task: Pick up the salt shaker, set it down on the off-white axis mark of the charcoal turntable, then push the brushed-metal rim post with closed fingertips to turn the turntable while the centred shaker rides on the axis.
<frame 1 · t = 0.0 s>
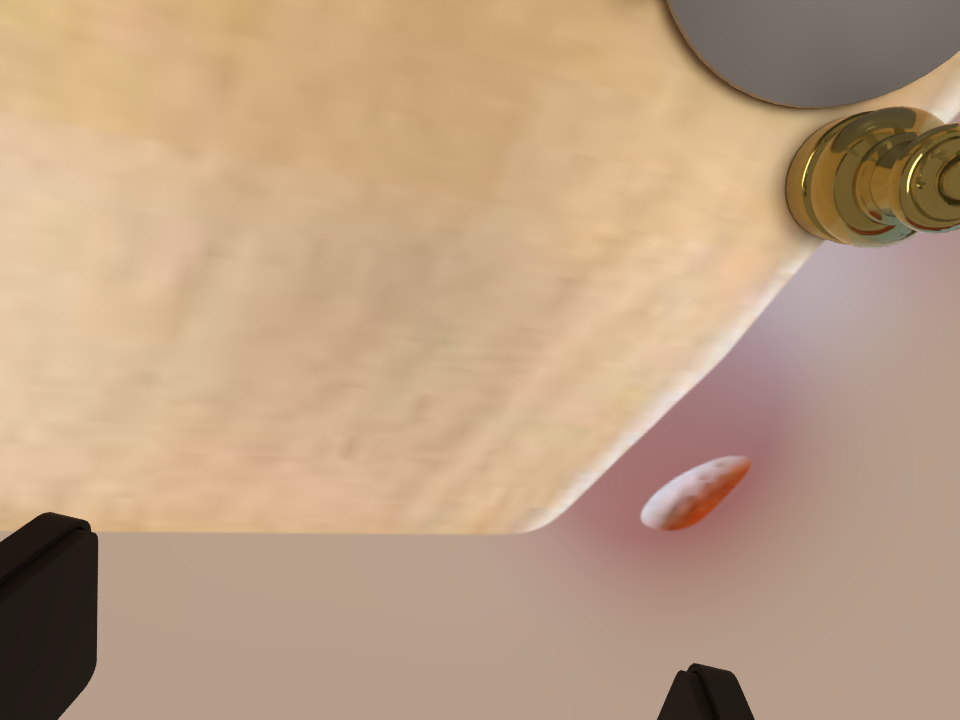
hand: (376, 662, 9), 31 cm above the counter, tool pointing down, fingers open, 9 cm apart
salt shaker: (843, 180, 35), on the counter
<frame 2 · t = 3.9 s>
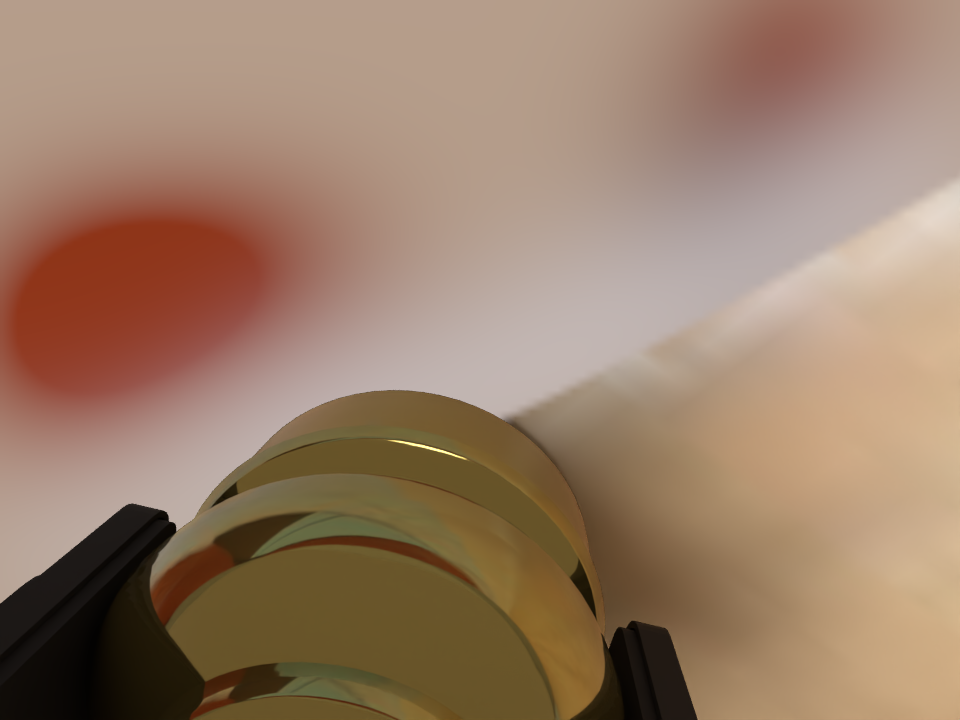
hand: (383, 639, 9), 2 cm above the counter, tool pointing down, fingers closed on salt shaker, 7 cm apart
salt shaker: (411, 544, 12), on the counter, touching gripper
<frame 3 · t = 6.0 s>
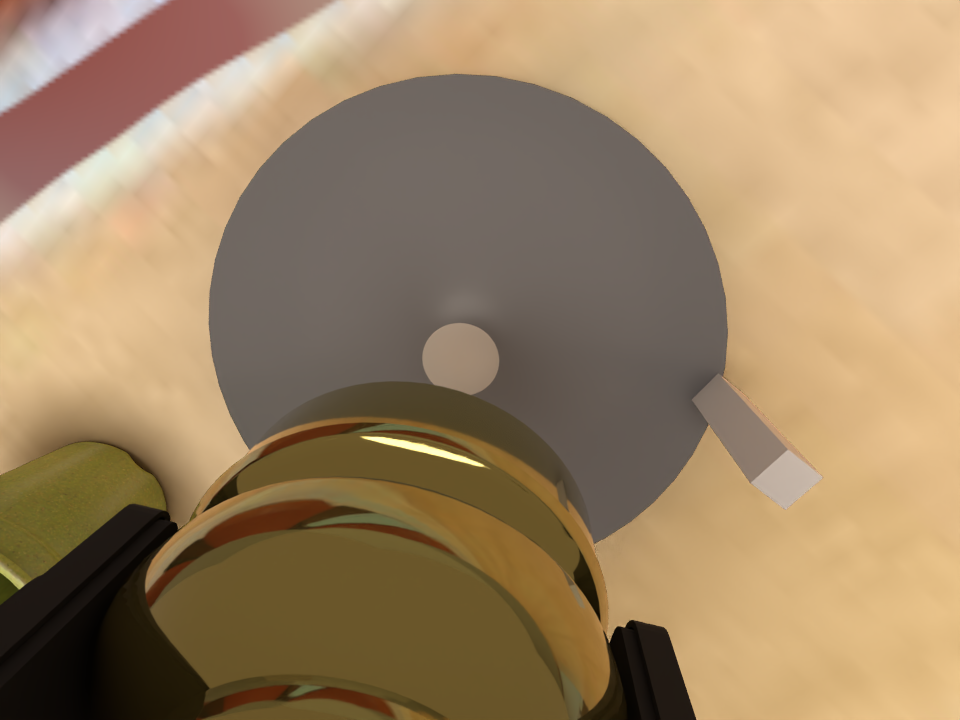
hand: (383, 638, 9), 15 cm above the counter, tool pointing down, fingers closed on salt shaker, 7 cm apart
turntable: (452, 385, 20), point 4 cm above the counter, hinge at 0.0°
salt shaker: (413, 532, 12), point 13 cm above the counter, touching gripper
plant pot: (111, 494, 28), on the counter
when the fingers open (5 cm above the counter, at t = 8.6 s): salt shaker stays where it is, resting on turntable.
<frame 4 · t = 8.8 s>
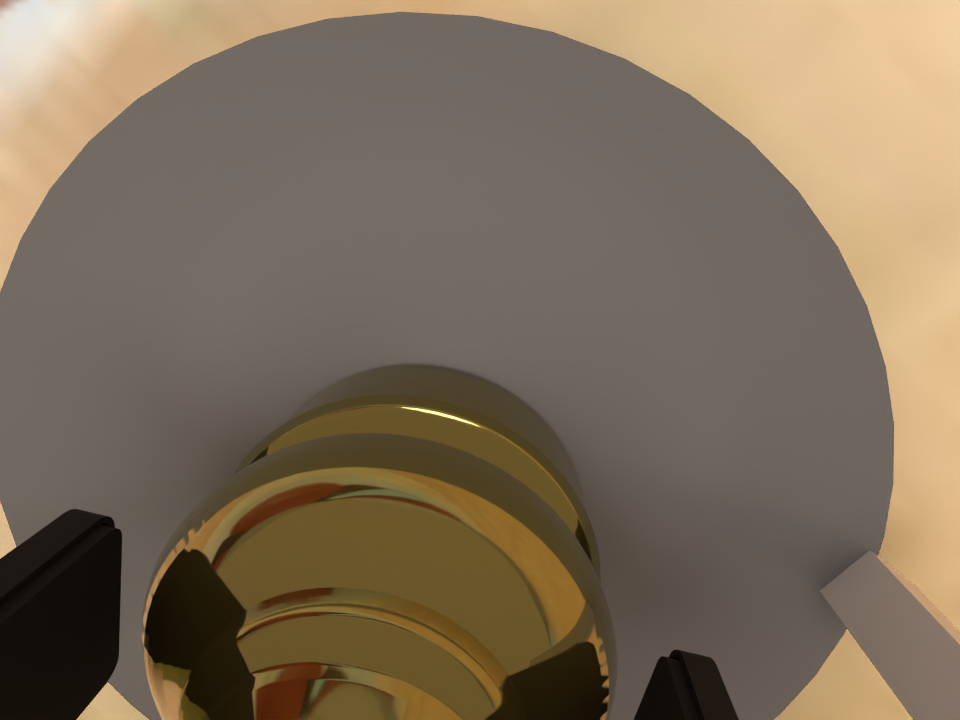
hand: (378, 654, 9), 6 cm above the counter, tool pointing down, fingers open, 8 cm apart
turntable: (394, 599, 10), point 4 cm above the counter, hinge at 0.0°, touching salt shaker
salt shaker: (423, 511, 13), point 2 cm above the counter, touching turntable
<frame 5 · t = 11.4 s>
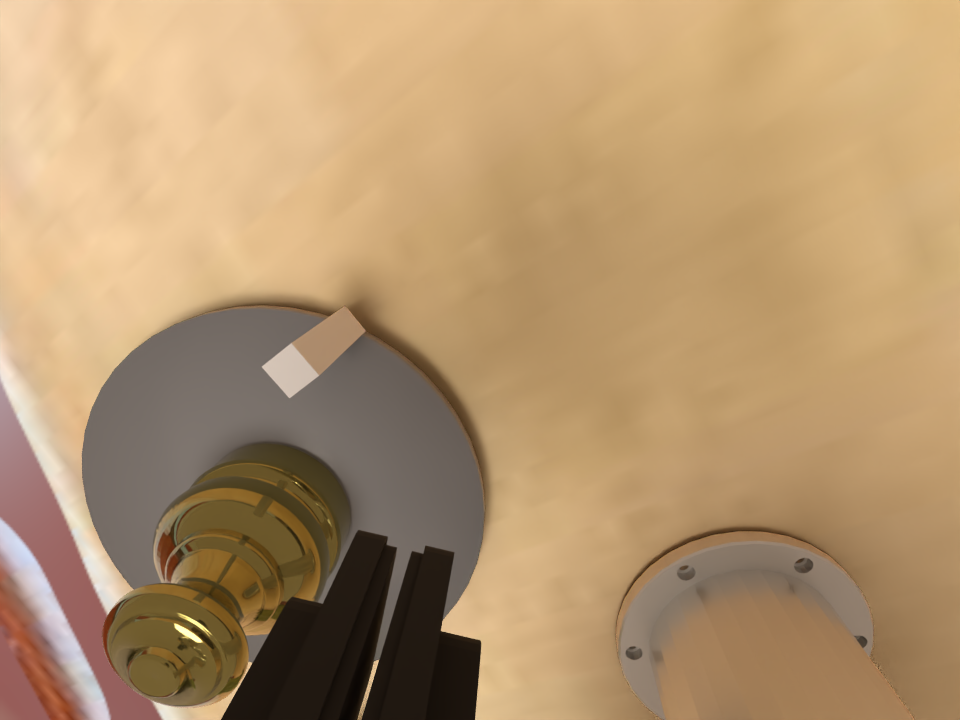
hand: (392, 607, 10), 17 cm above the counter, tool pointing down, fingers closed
turntable: (256, 541, 25), point 4 cm above the counter, hinge at 0.0°, touching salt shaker
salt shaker: (281, 505, 28), point 2 cm above the counter, touching turntable
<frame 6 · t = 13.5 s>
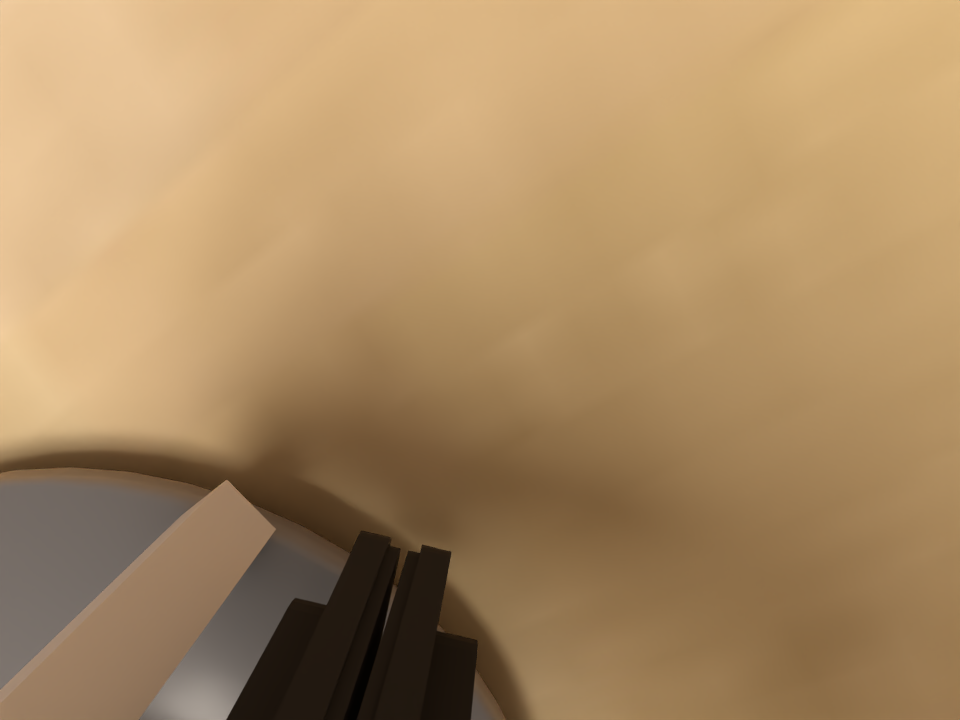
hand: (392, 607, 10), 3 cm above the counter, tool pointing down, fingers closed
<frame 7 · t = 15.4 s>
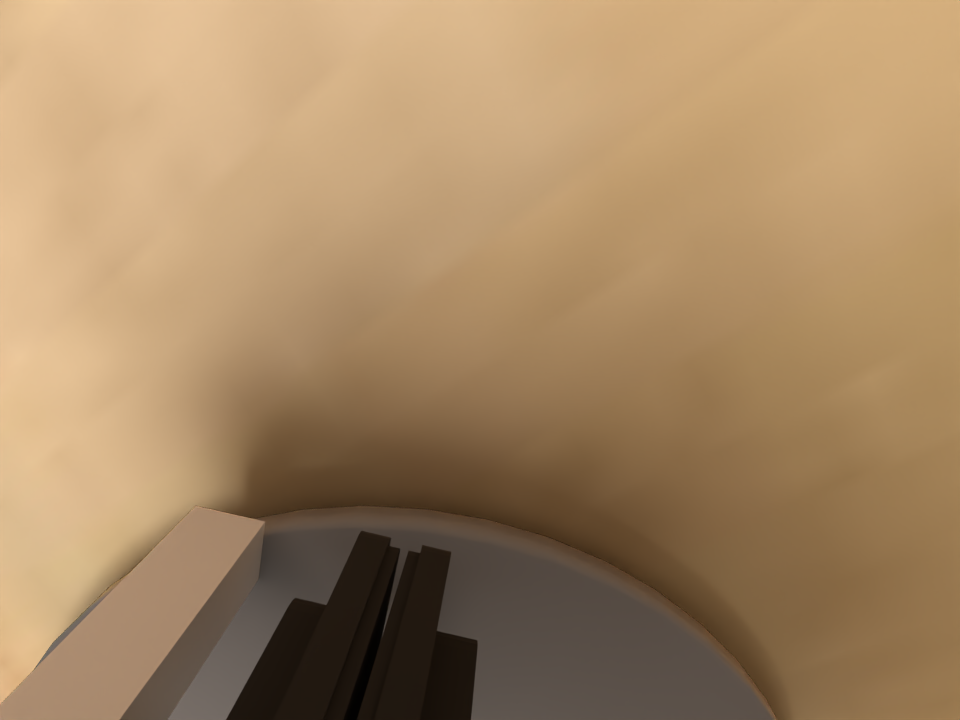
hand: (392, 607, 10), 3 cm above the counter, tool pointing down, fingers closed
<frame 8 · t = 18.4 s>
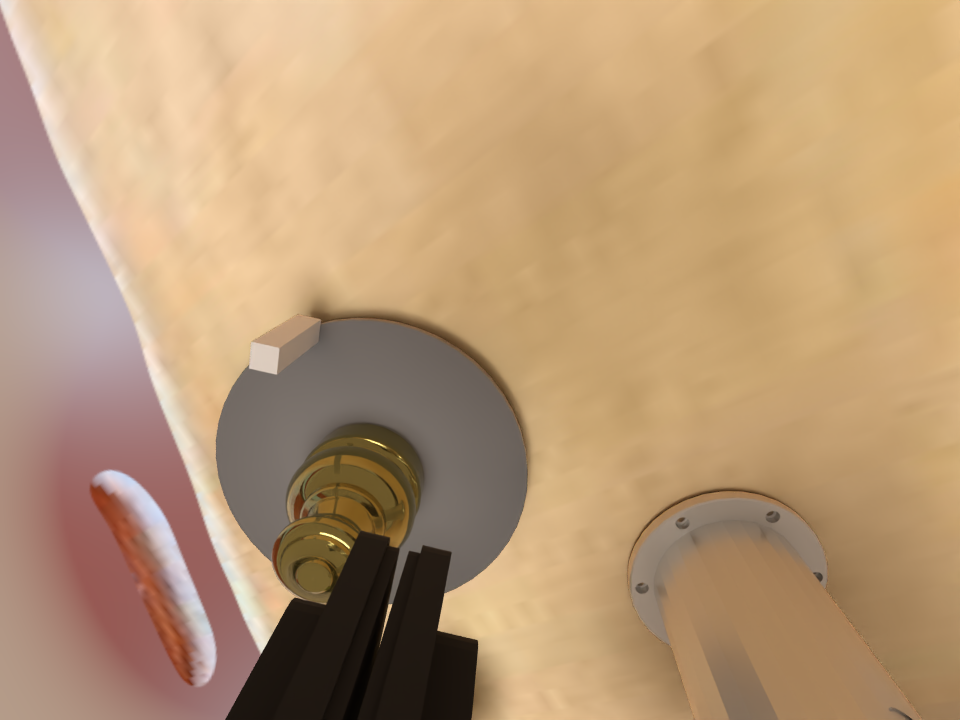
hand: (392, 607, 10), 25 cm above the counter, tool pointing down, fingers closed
turntable: (358, 495, 34), point 4 cm above the counter, hinge at 40.6°, touching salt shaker
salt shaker: (369, 472, 36), point 2 cm above the counter, touching turntable
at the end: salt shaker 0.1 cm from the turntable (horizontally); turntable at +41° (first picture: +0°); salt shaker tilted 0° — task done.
